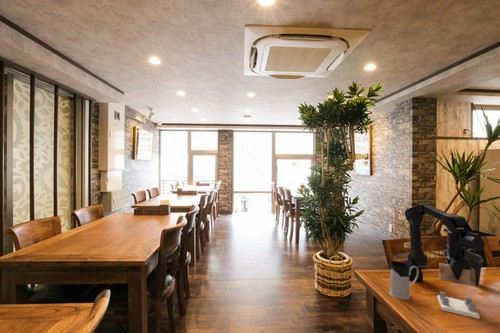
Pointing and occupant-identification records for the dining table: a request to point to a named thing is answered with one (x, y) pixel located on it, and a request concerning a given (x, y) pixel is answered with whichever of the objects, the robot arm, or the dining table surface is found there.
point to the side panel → (458, 305)
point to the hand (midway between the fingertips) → (456, 277)
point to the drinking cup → (476, 270)
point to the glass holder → (400, 280)
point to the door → (447, 275)
